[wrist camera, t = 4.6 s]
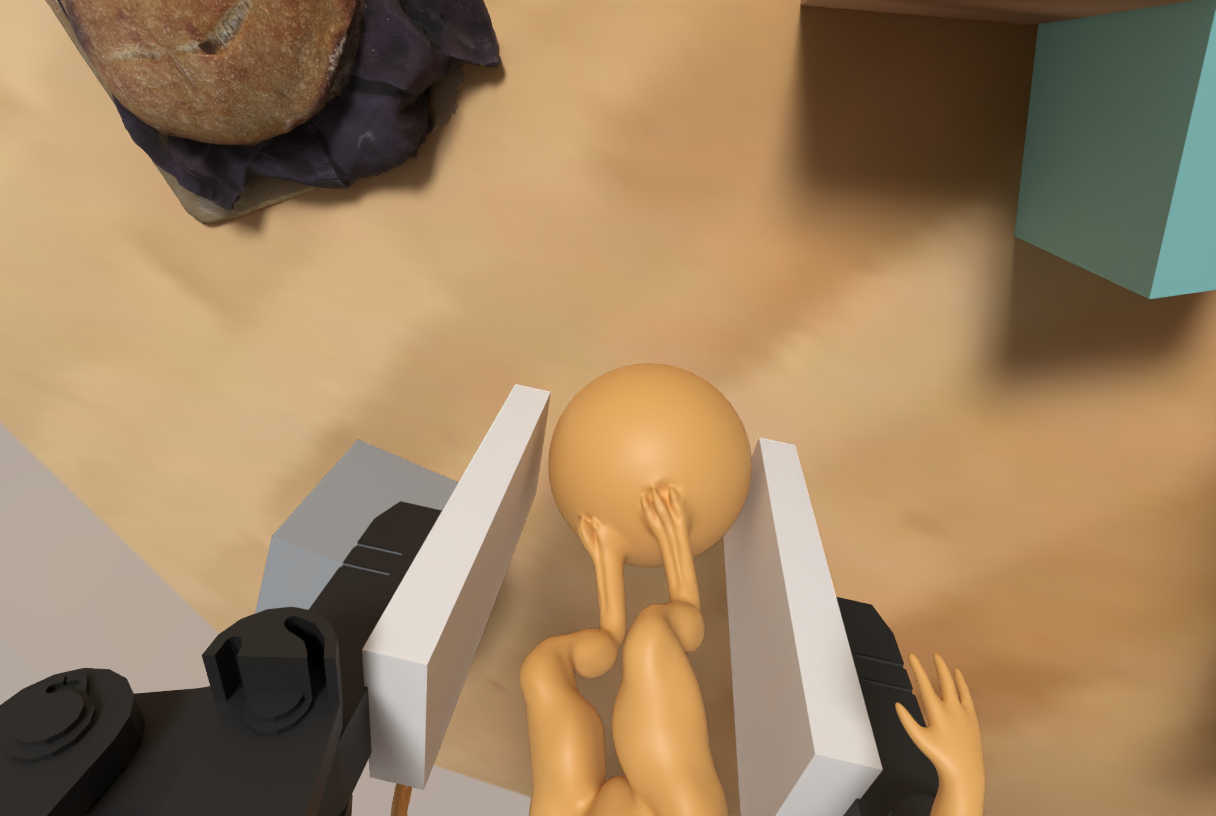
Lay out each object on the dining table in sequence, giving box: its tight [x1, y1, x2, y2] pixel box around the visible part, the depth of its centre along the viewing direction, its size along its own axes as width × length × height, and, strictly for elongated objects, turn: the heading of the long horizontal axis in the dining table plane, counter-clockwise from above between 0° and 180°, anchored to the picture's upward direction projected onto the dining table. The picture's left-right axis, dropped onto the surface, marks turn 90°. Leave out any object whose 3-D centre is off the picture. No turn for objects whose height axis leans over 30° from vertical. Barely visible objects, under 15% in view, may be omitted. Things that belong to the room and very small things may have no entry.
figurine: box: [391, 364, 985, 816], centre depth 8 cm, size 8×6×12 cm
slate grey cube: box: [255, 439, 459, 614], centre depth 20 cm, size 5×5×5 cm
